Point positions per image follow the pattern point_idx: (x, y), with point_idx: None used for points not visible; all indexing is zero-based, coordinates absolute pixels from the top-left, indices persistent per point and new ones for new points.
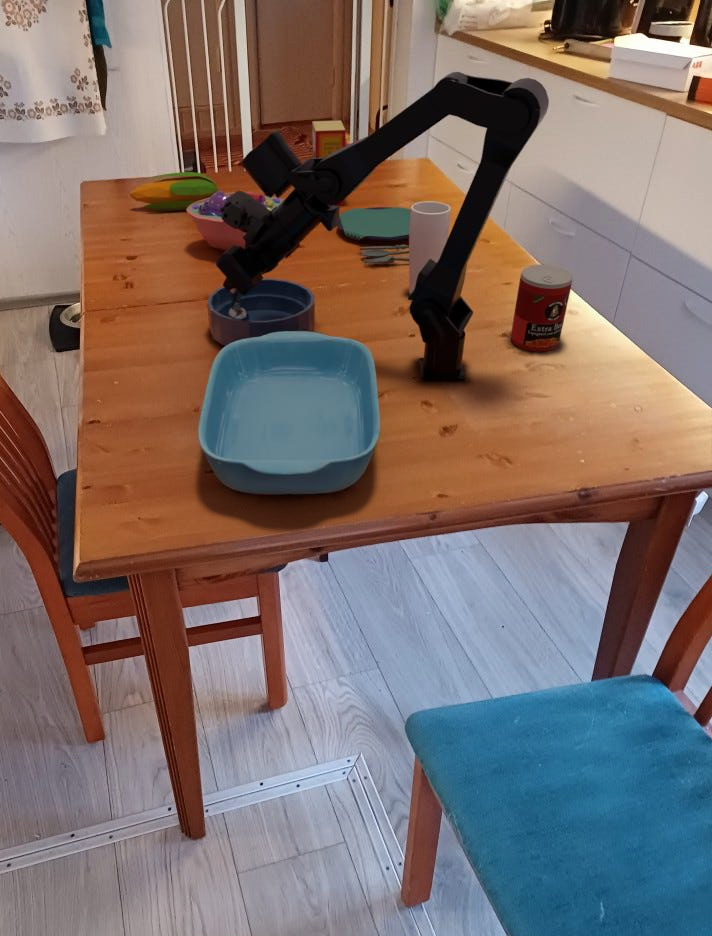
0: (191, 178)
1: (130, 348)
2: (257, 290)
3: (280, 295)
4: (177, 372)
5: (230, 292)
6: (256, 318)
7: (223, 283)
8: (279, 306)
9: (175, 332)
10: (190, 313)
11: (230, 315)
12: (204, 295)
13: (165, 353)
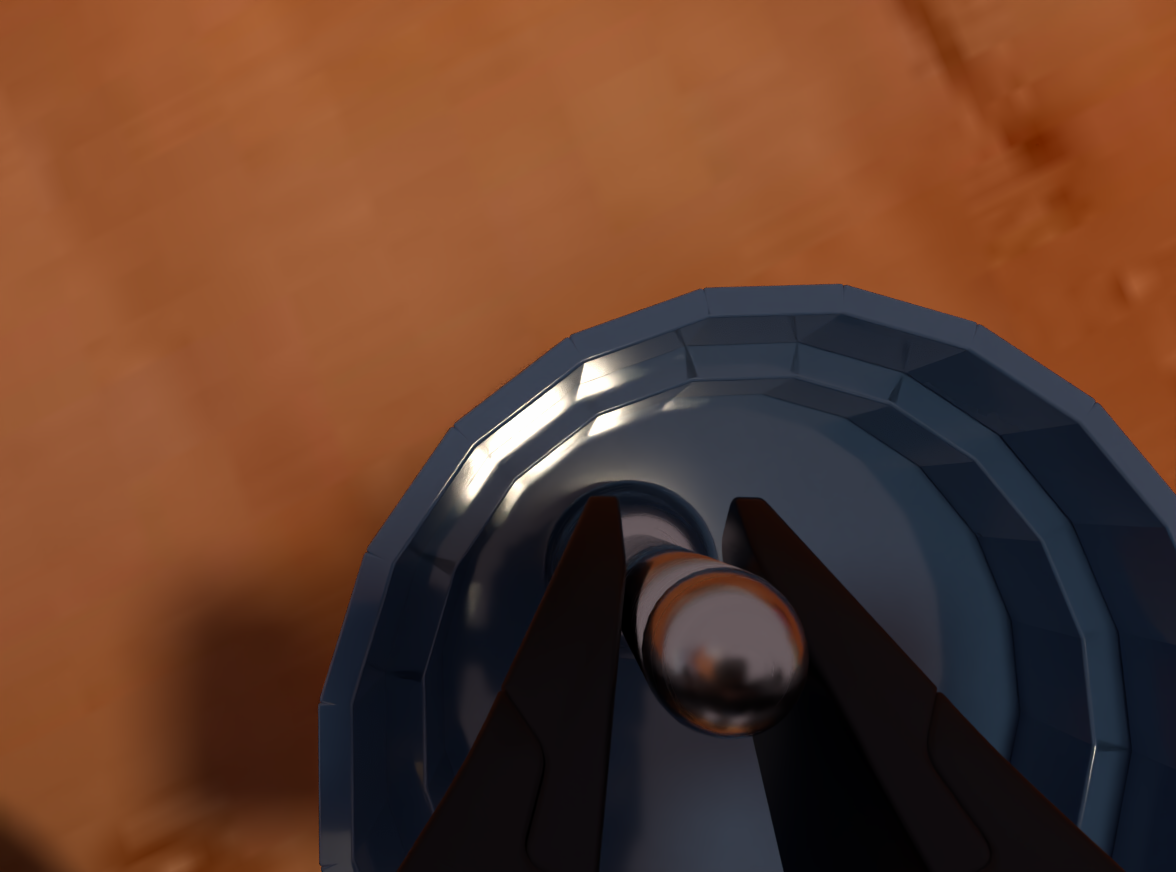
0: None
1: (246, 24)
2: (1093, 525)
3: (1116, 705)
4: (48, 424)
5: (629, 554)
6: (846, 581)
7: (584, 509)
8: (1036, 684)
9: (526, 169)
10: (794, 134)
11: (561, 551)
12: (1058, 99)
13: (252, 243)
